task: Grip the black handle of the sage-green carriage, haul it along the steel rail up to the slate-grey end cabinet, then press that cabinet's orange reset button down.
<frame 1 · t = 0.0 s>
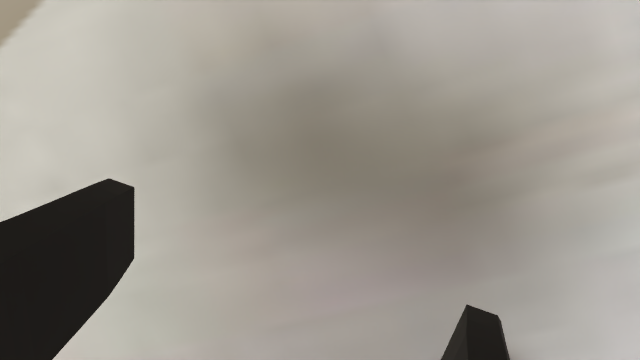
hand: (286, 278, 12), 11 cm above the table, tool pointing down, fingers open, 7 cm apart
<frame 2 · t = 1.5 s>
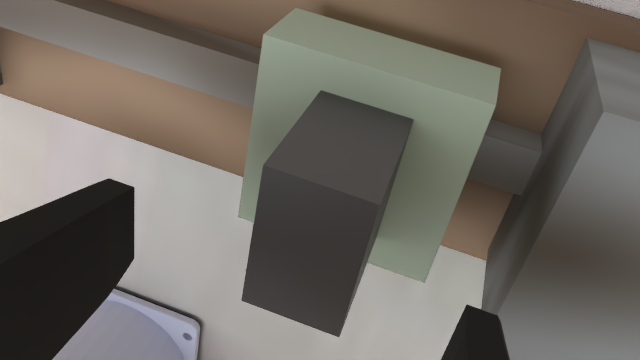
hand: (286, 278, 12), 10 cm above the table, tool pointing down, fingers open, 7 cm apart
rail base: (258, 50, 21), on the table
carriage: (348, 171, 16), point 6 cm above the table, slide at 0.0 cm
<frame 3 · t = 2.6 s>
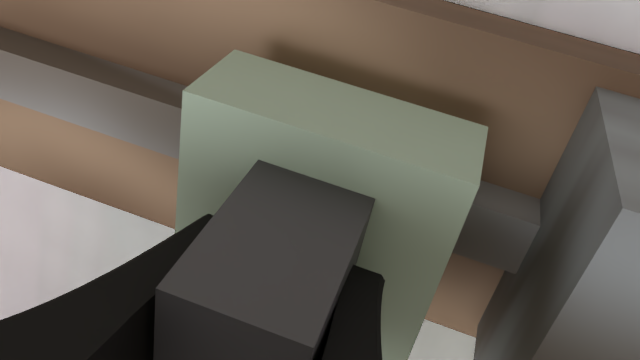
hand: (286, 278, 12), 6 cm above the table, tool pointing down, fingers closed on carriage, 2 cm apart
rail base: (205, 90, 18), on the table
carriage: (297, 256, 13), point 6 cm above the table, slide at 0.0 cm, touching gripper
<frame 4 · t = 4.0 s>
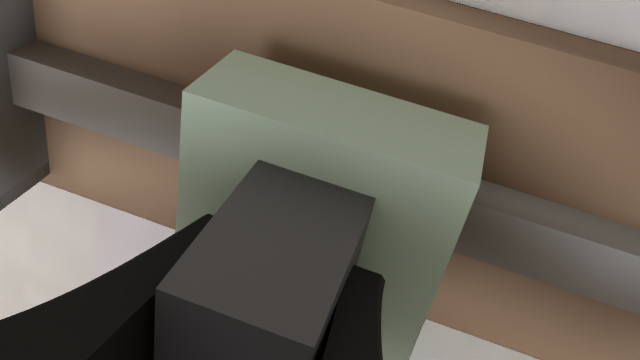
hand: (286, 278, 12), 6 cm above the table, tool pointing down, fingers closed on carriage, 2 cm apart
rail base: (370, 142, 17), on the table
carriage: (298, 256, 13), point 6 cm above the table, slide at 5.3 cm, touching gripper
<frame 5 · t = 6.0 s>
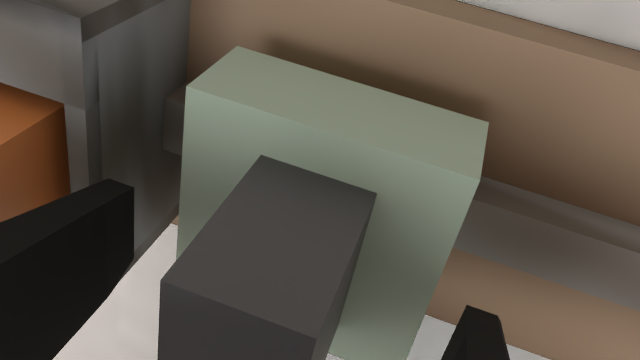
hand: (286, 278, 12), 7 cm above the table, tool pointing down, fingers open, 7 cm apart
rail base: (529, 189, 17), on the table
carriage: (299, 251, 13), point 6 cm above the table, slide at 10.0 cm
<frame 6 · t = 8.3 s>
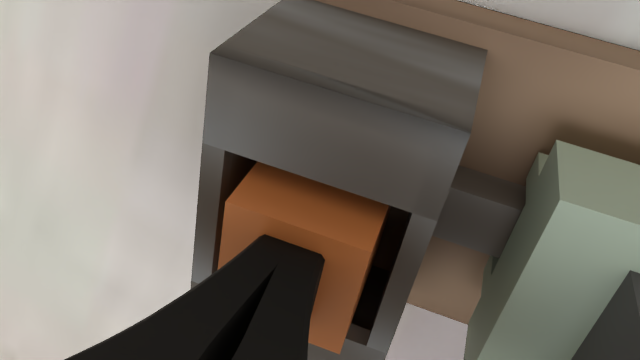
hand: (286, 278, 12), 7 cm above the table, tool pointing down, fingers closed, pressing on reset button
reset button: (311, 233, 14), point 5 cm above the table, slide at 1.1 cm, touching gripper
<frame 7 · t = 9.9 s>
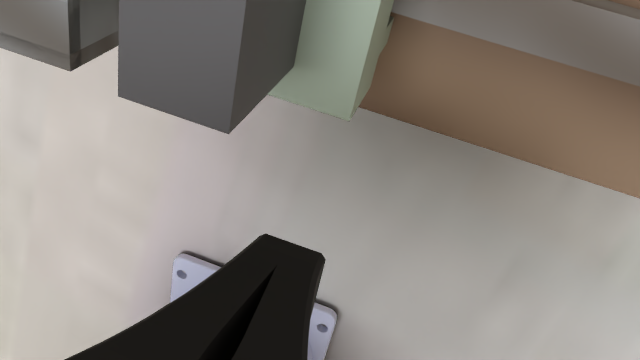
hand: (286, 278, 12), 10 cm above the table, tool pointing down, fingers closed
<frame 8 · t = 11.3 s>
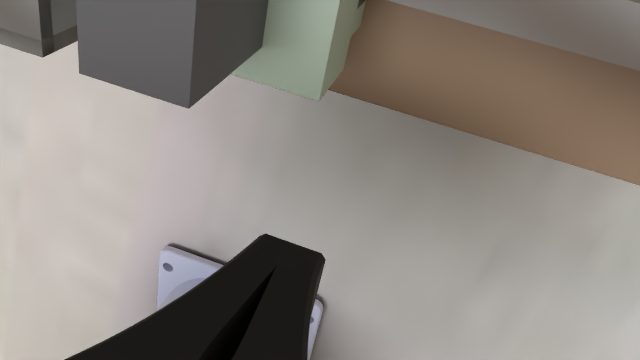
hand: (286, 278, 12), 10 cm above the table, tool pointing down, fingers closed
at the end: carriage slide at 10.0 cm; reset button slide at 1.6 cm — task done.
